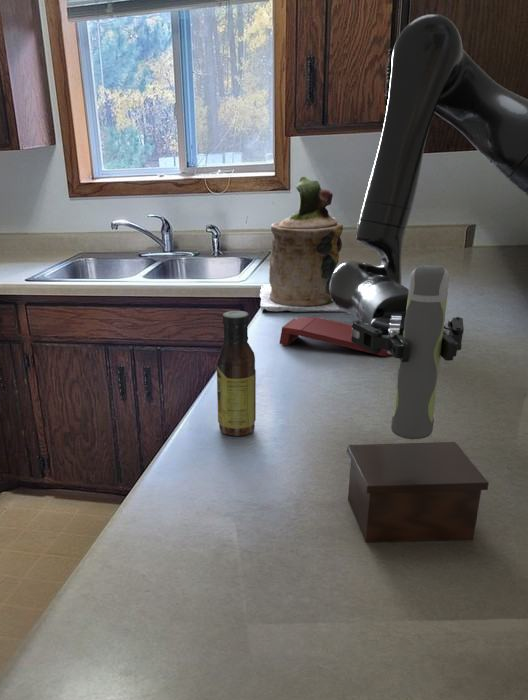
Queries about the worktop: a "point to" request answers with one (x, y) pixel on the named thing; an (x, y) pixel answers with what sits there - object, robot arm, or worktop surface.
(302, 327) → the red bent slab
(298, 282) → the cookie jar
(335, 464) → the worktop surface
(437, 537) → the box
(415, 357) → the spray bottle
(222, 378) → the sauce bottle
